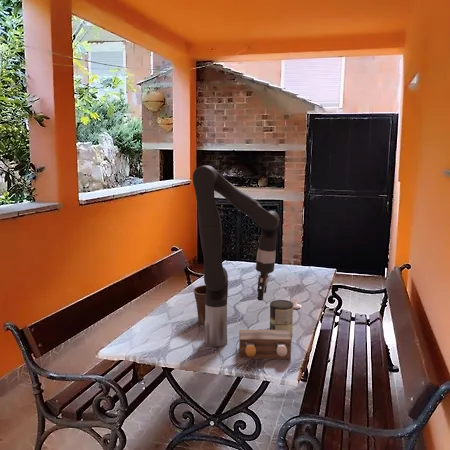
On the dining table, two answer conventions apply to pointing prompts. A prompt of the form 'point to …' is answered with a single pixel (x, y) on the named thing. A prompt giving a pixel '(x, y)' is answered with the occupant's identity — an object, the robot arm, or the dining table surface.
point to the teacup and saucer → (295, 304)
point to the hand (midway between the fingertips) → (261, 296)
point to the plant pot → (200, 302)
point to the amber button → (250, 349)
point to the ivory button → (281, 348)
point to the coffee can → (281, 315)
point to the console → (264, 343)
